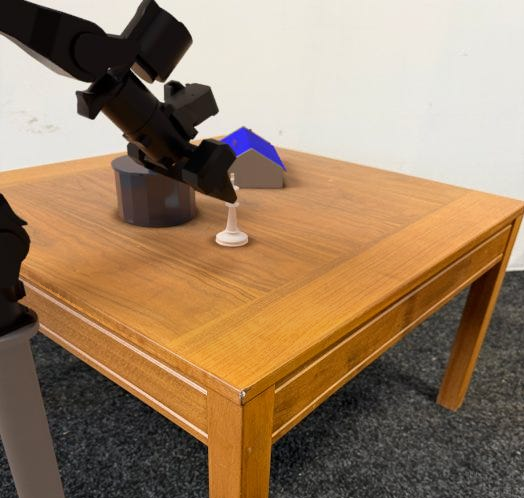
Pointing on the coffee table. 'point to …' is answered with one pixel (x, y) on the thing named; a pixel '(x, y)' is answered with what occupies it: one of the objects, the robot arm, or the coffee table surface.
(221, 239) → the chess piece
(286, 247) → the coffee table surface
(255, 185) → the toy house
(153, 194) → the pot
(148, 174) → the pot lid
